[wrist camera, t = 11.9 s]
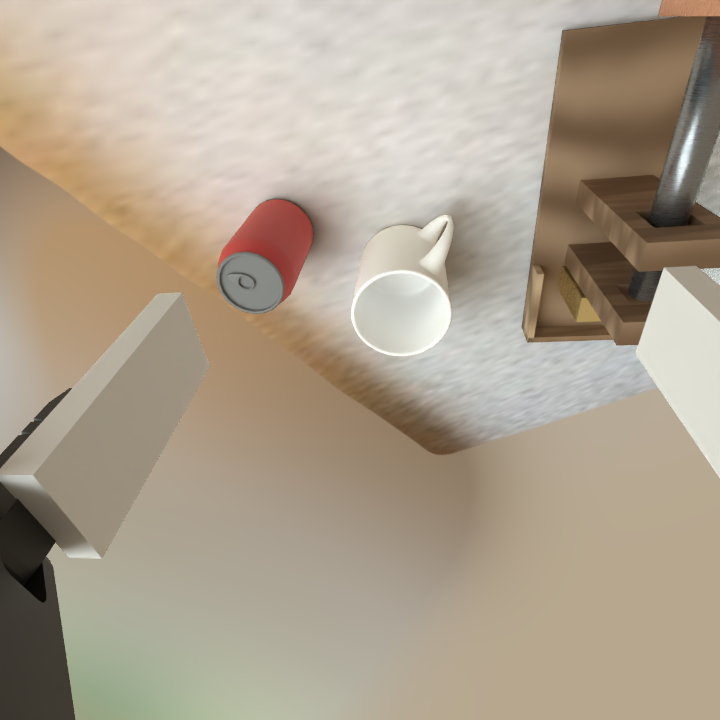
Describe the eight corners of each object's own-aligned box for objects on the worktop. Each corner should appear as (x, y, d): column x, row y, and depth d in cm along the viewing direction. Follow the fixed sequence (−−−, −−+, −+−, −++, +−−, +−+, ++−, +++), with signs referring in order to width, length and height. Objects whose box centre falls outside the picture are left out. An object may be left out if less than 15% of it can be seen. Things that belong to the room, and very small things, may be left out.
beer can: (257, 186, 43) (215, 234, 34) (322, 210, 44) (299, 263, 35) (245, 247, 47) (204, 304, 38) (305, 268, 48) (280, 329, 39)
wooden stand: (562, 30, 34) (644, 37, 22) (734, 10, 33) (919, 6, 21) (521, 327, 50) (557, 422, 39) (635, 322, 49) (709, 420, 37)
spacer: (561, 265, 45) (581, 298, 40) (631, 262, 44) (661, 294, 39) (557, 288, 46) (576, 322, 41) (624, 285, 45) (652, 319, 40)
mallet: (678, -70, 26) (765, -99, 20) (754, -81, 26) (869, -113, 19) (598, 269, 39) (635, 318, 33) (647, 267, 38) (695, 316, 32)
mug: (483, 224, 44) (502, 273, 35) (411, 311, 50) (412, 371, 42) (411, 174, 42) (412, 214, 33) (346, 272, 48) (333, 327, 40)
